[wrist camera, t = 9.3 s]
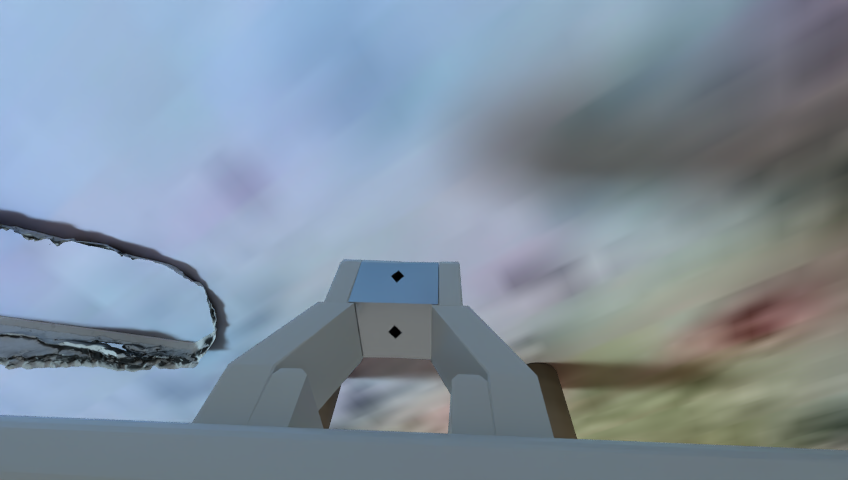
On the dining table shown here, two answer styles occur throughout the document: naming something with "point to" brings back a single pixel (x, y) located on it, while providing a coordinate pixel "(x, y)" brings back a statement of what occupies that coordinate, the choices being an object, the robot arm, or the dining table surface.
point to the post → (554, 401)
